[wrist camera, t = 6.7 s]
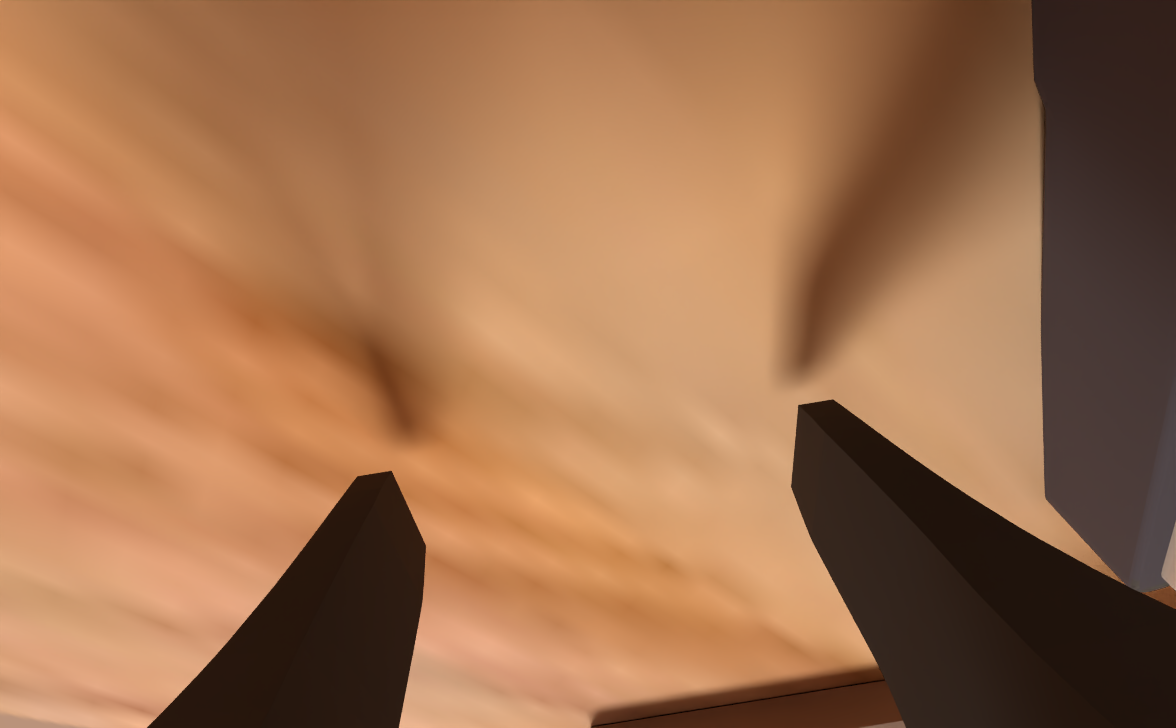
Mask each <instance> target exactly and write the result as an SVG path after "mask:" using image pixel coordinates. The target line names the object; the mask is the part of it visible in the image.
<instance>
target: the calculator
mask: <svg viewBox="0 0 1176 728" xmlns="http://www.w3.org/2000/svg"><path fill="white" fill-rule="evenodd" d="M1032 33H1033V65H1034V81H1035V83H1036V86H1037V88H1038V91H1039V94H1040V96H1041V99H1042V101H1043V104H1044V107H1045V170H1044V211H1043V252H1042V293H1041V356H1042V401H1043V443H1044V480H1045V497H1046V499H1047V501H1048V502H1049V503H1050V504H1051V505H1052V506H1053V507H1054V509H1055V510H1056V511H1057V512H1058V513H1059V514H1060V515H1061V516H1062V517H1063V518H1064V519H1065V520H1066V521H1067V523H1068V524H1069V525H1070V526H1071V527H1072V528H1073V529H1074V530H1075V531H1076V532H1077V533H1078V534H1079V536H1080V537H1081V538H1082V539H1083V540H1084V541H1085V542H1086V543H1087V544H1088V545H1089V546H1090V547H1091V548H1092V550H1093V551H1094V552H1095V553H1096V554H1097V555H1098V556H1099V557H1100V558H1101V559H1102V560H1103V561H1104V562H1105V564H1106V565H1107V566H1108V567H1109V568H1110V569H1111V570H1112V571H1113V572H1114V573H1115V574H1116V575H1117V576H1118V577H1119V578H1120V579H1121V580H1122V581H1123V582H1124V583H1125V585H1126V586H1128V587H1130V588H1132V589H1134V590H1136V591H1138V592H1150V591H1154V590H1158V589H1161V588H1164V587H1168V586H1171V587H1172V588H1173V589H1174V590H1175V591H1176V0H1032Z"/></svg>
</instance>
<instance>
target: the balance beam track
mask: <svg viewBox="0 0 1176 728" xmlns="http://www.w3.org/2000/svg"><path fill="white" fill-rule="evenodd" d="M591 728H906V727H905V724H904V722H903V720H902V717H901V715H900V713H899V710H898V708H897V706H896V703H895V701H894V698H893V696H892V694H891V691H890V689H889V687H888V685H887V683H886V680H885V681H879V682H873V683H867V684H860V685H854V686H848V687H842V688H835V689H829V690H823V691H816V692H810V693H804V694H798V695H791V696H785V697H779V698H773V699H766V700H760V701H754V702H748V703H741V704H735V705H729V706H723V707H716V708H710V709H704V710H697V711H691V712H685V713H679V714H672V715H666V716H660V717H654V718H647V719H641V720H635V721H629V722H622V723H616V724H610V725H603V726H597V727H591Z"/></svg>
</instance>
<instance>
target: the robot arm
mask: <svg viewBox="0 0 1176 728" xmlns="http://www.w3.org/2000/svg"><path fill="white" fill-rule="evenodd" d="M791 488H792V490H793V493H794V496H795V498H796V501H797V504H798V506H799V509H800V512H801V514H802V517H803V520H804V522H805V525H806V527H807V530H808V532H809V535H810V537H811V539H812V541H813V543H814V545H815V547H816V549H817V551H818V553H819V555H820V557H821V559H822V561H823V563H824V564H825V566H826V568H827V570H828V572H829V574H830V576H831V578H832V580H833V581H834V583H835V585H836V587H837V589H838V591H839V593H840V594H841V596H842V598H843V600H844V602H845V604H846V606H847V608H848V609H849V611H850V613H851V615H852V617H853V619H854V621H855V622H856V624H857V626H858V628H859V630H860V632H861V634H862V636H863V637H864V639H865V641H866V643H867V645H868V647H869V649H870V650H871V652H872V654H873V656H874V658H875V660H876V662H877V664H878V666H879V668H880V670H881V672H882V674H883V676H884V678H885V680H886V683H887V685H888V687H889V689H890V691H891V694H892V696H893V698H894V701H895V703H896V706H897V708H898V710H899V713H900V715H901V717H902V720H903V722H904V724H905V727H906V728H1176V609H1174V608H1171V607H1169V606H1167V605H1165V604H1163V603H1161V602H1159V601H1157V600H1155V599H1153V598H1151V597H1149V596H1147V595H1145V594H1142V593H1140V592H1138V591H1136V590H1134V589H1132V588H1130V587H1128V586H1126V585H1124V584H1122V583H1120V582H1118V581H1116V580H1114V579H1112V578H1110V577H1108V576H1106V575H1105V574H1103V573H1101V572H1099V571H1097V570H1095V569H1093V568H1091V567H1089V566H1087V565H1086V564H1084V563H1082V562H1080V561H1078V560H1077V559H1075V558H1073V557H1071V556H1069V555H1067V554H1066V553H1064V552H1062V551H1060V550H1058V549H1057V548H1055V547H1053V546H1051V545H1049V544H1047V543H1046V542H1044V541H1042V540H1040V539H1038V538H1037V537H1035V536H1033V535H1032V534H1030V533H1028V532H1026V531H1025V530H1023V529H1021V528H1020V527H1018V526H1016V525H1015V524H1013V523H1011V522H1010V521H1008V520H1007V519H1005V518H1003V517H1002V516H1000V515H999V514H997V513H995V512H994V511H992V510H991V509H989V508H987V507H986V506H984V505H983V504H981V503H979V502H978V501H976V500H975V499H973V498H971V497H970V496H968V495H967V494H965V493H964V492H962V491H961V490H959V489H958V488H956V487H955V486H953V485H952V484H950V483H949V482H947V481H946V480H944V479H943V478H941V477H940V476H938V475H937V474H935V473H934V472H933V471H931V470H930V469H928V468H927V467H925V466H924V465H922V464H921V463H920V462H918V461H917V460H915V459H914V458H913V457H911V456H910V455H908V454H907V453H906V452H904V451H903V450H901V449H900V448H899V447H897V446H896V445H894V444H893V443H892V442H890V441H889V440H888V439H886V438H885V437H884V436H882V435H881V434H879V433H878V432H877V431H875V430H874V429H873V428H871V427H870V426H869V425H867V424H866V423H865V422H863V421H862V420H861V419H859V418H858V417H856V416H855V415H854V414H852V413H851V412H850V411H848V410H847V409H846V408H844V407H843V406H842V405H840V404H839V403H837V402H836V401H835V400H827V401H821V402H815V403H809V404H802V405H798V416H797V427H796V439H795V450H794V461H793V472H792V484H791ZM425 553H426V545H425V543H424V541H423V538H422V536H421V534H420V532H419V530H418V527H417V525H416V523H415V521H414V519H413V517H412V514H411V512H410V510H409V508H408V506H407V504H406V501H405V499H404V497H403V495H402V493H401V490H400V488H399V486H398V484H397V482H396V480H395V477H394V475H393V473H392V471H388V472H382V473H376V474H369V475H363V476H357V478H356V479H355V480H354V482H353V483H352V484H351V485H350V487H349V488H348V489H347V491H346V492H345V493H344V495H343V496H342V497H341V499H340V500H339V501H338V503H337V504H336V505H335V507H334V508H333V509H332V511H331V512H330V513H329V515H328V516H327V517H326V519H325V520H324V522H323V523H322V524H321V526H320V527H319V528H318V530H317V531H316V532H315V534H314V535H313V536H312V538H311V539H310V540H309V542H308V543H307V544H306V546H305V547H304V548H303V550H302V551H301V552H300V553H299V555H298V556H297V557H296V559H295V560H294V561H293V563H292V564H291V565H290V566H289V568H288V569H287V570H286V572H285V573H284V574H283V575H282V577H281V578H280V579H279V581H278V582H277V583H276V585H275V586H274V587H273V588H272V589H271V591H270V592H269V593H268V594H267V596H266V597H265V598H264V599H263V600H262V602H261V603H260V604H259V605H258V606H257V608H256V609H255V610H254V611H253V612H252V614H251V615H250V616H249V617H248V618H247V620H246V621H245V622H244V623H243V624H242V626H241V627H240V628H239V629H238V630H237V632H236V633H235V634H234V635H233V636H232V638H231V639H230V640H229V641H228V642H227V643H226V645H225V646H224V647H223V648H222V649H221V650H220V651H219V652H218V654H217V655H216V656H215V657H214V658H213V659H212V660H211V661H210V662H209V664H208V665H207V666H206V667H205V668H204V669H203V670H202V671H201V672H200V673H199V674H198V676H197V677H196V678H195V679H194V680H193V681H192V682H191V683H190V684H189V685H188V686H187V687H186V688H185V689H184V690H183V691H182V692H181V693H180V694H179V695H178V697H177V698H176V699H175V700H174V701H173V702H172V703H171V704H170V705H169V706H168V707H167V708H166V709H165V710H164V711H163V712H162V713H161V714H160V715H159V716H158V717H157V718H156V719H155V720H154V721H153V722H152V723H151V724H150V725H149V726H148V727H147V728H399V723H400V718H401V713H402V708H403V702H404V697H405V692H406V687H407V682H408V676H409V671H410V666H411V661H412V656H413V650H414V645H415V640H416V634H417V629H418V623H419V618H420V612H421V606H422V600H423V587H424V572H425Z"/></svg>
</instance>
